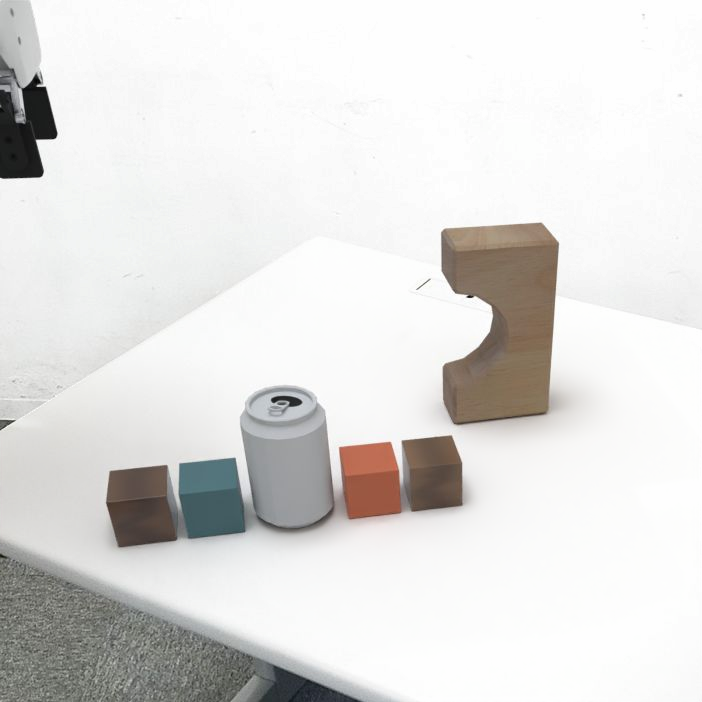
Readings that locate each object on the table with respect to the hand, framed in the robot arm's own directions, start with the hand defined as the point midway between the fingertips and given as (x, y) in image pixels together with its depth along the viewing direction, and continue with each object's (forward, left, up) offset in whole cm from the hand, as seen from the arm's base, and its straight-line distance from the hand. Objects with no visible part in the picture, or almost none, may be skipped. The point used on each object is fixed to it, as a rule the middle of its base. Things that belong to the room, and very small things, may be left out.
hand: (30, 157), depth 77 cm
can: (+17, -10, -31) cm, 36 cm away
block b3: (+24, -10, -30) cm, 40 cm away
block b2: (+10, -10, -30) cm, 33 cm away
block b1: (+4, -10, -30) cm, 32 cm away
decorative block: (+40, +5, -31) cm, 50 cm away
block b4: (+30, -10, -30) cm, 44 cm away
